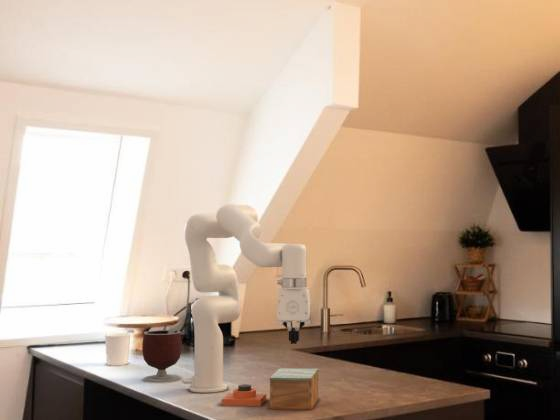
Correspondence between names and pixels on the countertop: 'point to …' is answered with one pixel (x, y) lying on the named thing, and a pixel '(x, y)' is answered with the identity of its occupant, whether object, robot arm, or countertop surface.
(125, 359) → the candle holder
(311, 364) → the countertop surface
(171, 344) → the mate gourd
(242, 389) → the button
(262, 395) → the button block
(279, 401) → the wooden box
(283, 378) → the green box lid
